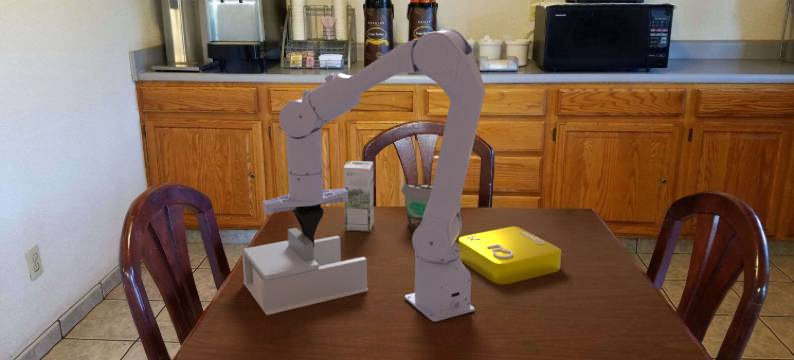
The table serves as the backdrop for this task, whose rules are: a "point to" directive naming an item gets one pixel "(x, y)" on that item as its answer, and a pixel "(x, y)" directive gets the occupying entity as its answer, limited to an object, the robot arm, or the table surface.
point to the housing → (309, 280)
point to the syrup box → (359, 196)
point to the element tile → (509, 255)
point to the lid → (283, 256)
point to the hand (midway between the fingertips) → (308, 246)
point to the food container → (416, 202)
